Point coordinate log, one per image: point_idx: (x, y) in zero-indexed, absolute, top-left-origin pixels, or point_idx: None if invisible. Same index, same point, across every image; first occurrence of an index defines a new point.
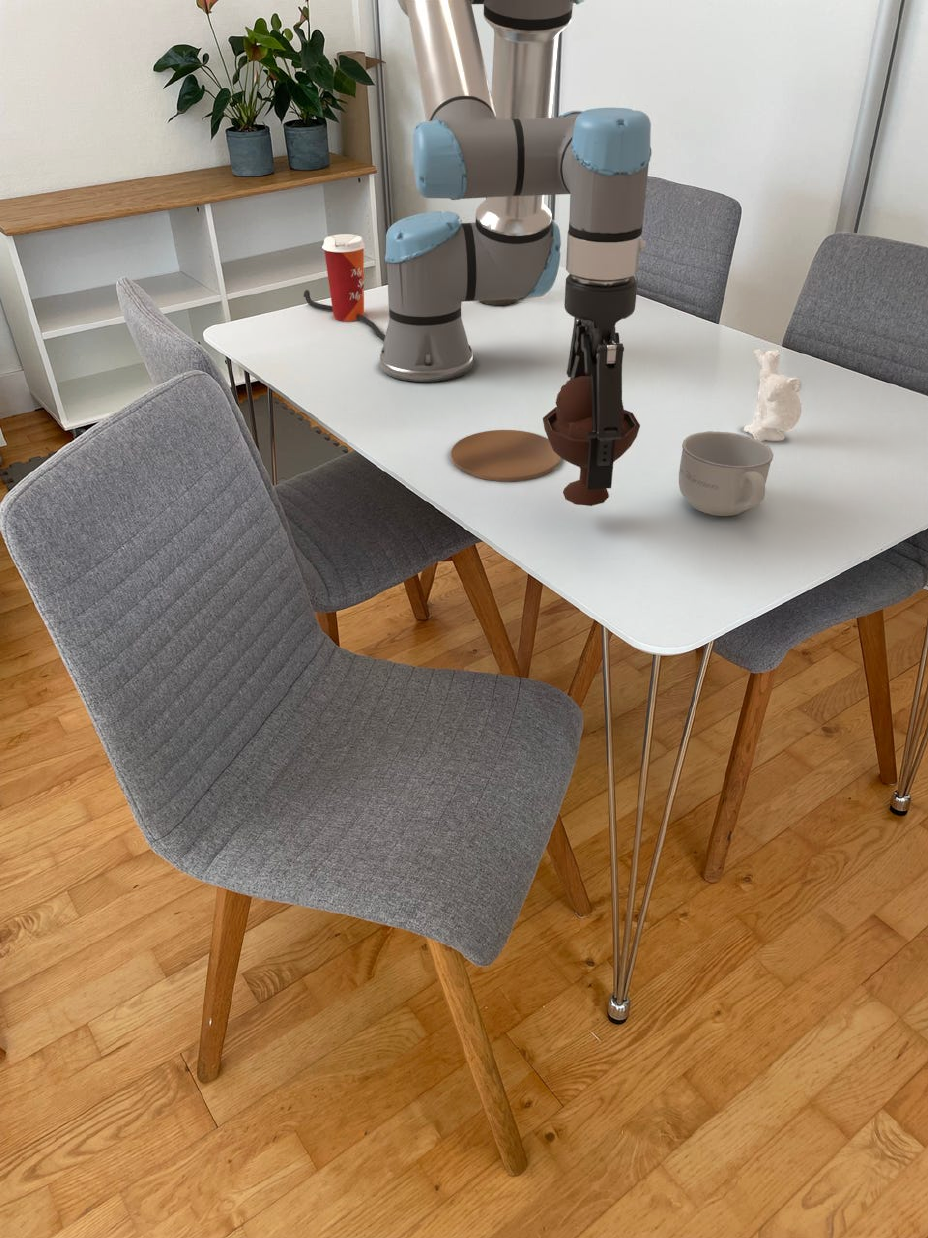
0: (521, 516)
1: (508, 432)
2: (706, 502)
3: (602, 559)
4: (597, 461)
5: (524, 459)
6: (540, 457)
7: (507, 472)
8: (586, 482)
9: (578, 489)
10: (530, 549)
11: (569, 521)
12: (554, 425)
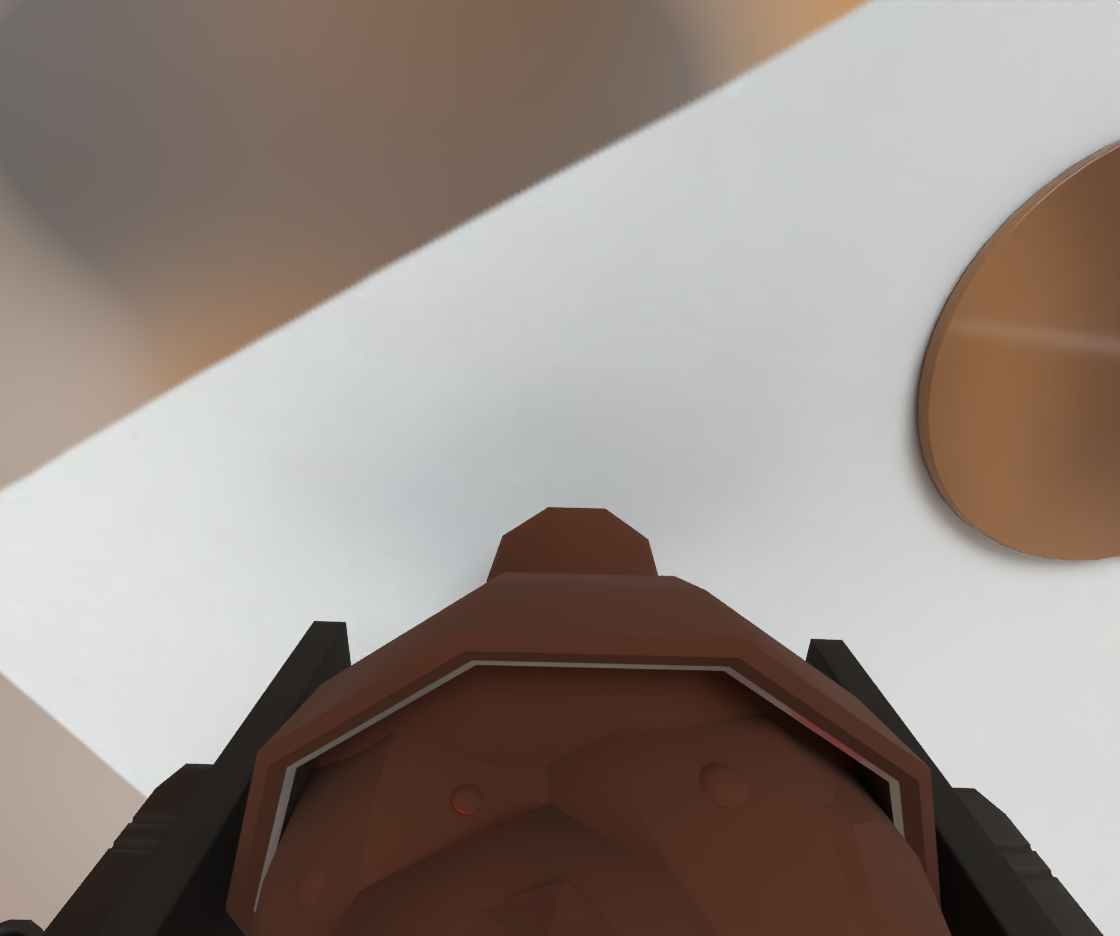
0: (654, 337)
1: None
2: None
3: (349, 531)
4: (167, 789)
5: (1058, 427)
6: (1046, 487)
7: (984, 343)
8: (337, 635)
9: (542, 571)
10: (420, 325)
11: (589, 488)
12: (648, 682)
